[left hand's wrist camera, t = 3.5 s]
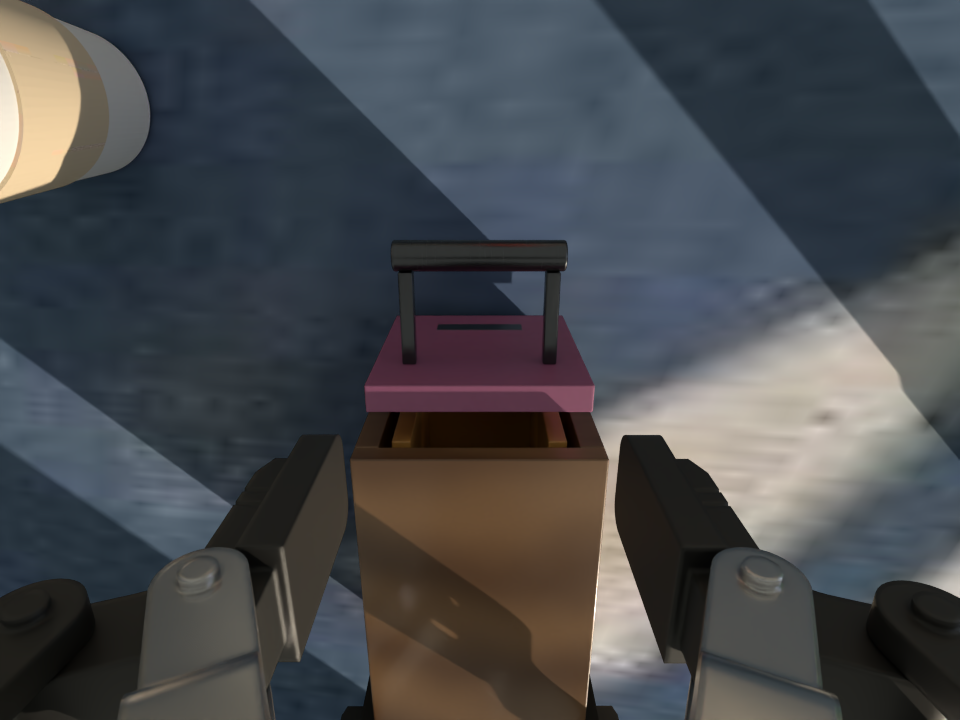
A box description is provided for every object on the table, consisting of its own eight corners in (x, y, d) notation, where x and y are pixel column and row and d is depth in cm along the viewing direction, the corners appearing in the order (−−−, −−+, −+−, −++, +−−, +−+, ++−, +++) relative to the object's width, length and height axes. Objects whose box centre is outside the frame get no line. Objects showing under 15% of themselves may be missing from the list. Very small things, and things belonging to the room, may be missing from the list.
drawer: (391, 217, 30) (353, 251, 21) (567, 217, 30) (604, 251, 21) (412, 599, 39) (391, 737, 30) (547, 599, 39) (567, 737, 30)
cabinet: (391, 356, 34) (349, 459, 23) (568, 355, 34) (609, 459, 23) (407, 633, 42) (382, 809, 31) (551, 633, 42) (577, 809, 31)
